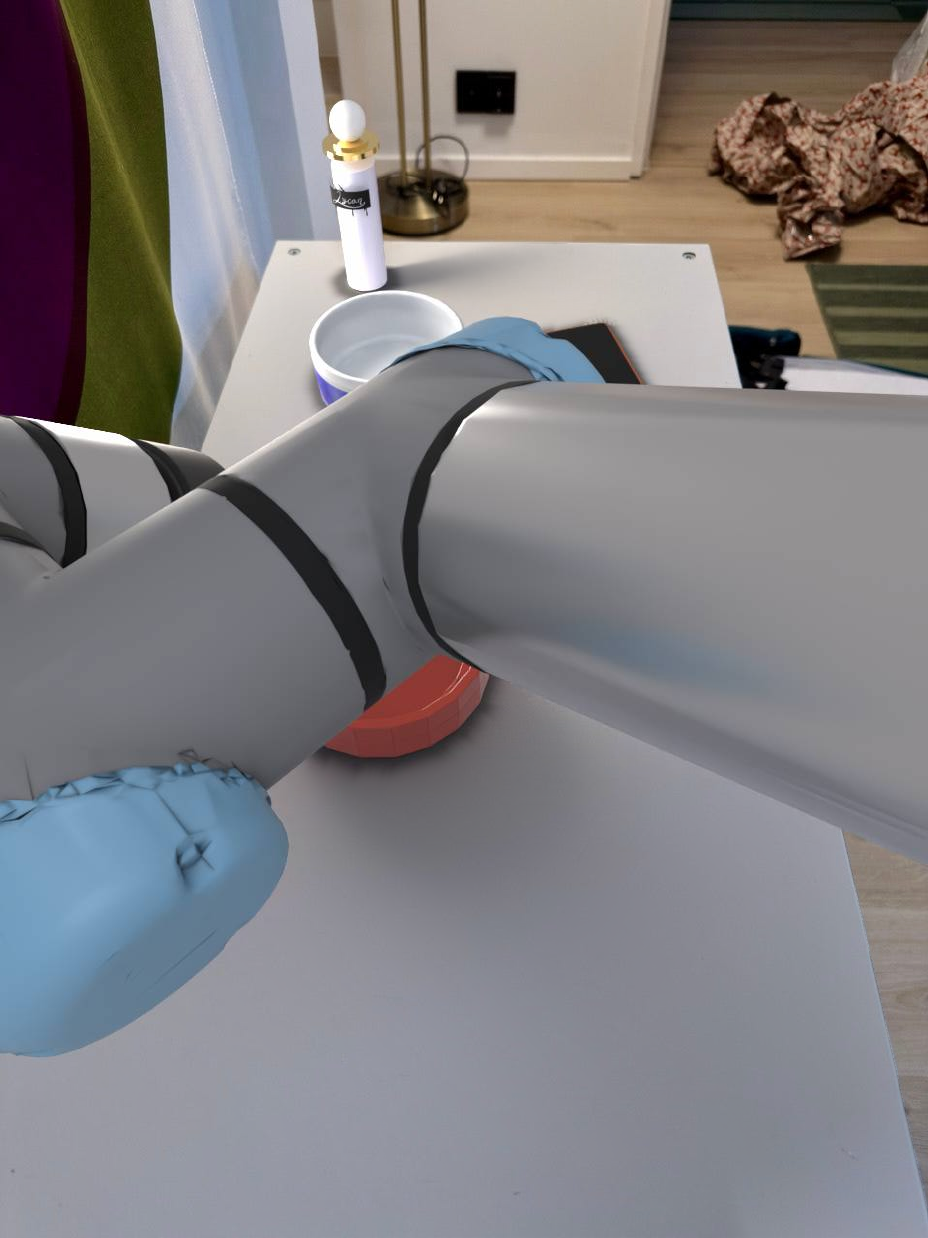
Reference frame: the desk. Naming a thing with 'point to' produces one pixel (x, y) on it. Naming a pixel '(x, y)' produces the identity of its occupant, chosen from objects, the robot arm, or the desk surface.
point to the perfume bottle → (356, 195)
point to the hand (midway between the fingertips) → (414, 555)
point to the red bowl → (415, 711)
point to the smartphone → (600, 351)
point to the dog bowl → (374, 336)
